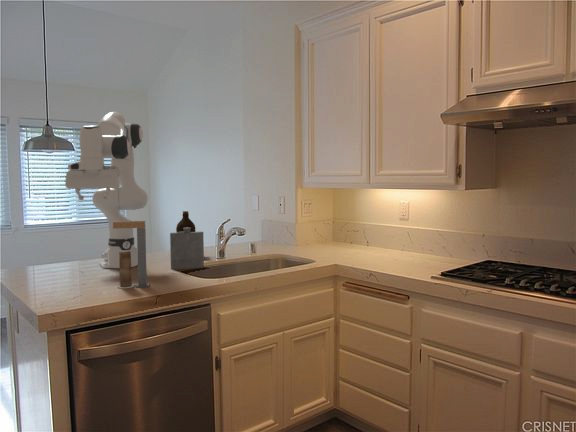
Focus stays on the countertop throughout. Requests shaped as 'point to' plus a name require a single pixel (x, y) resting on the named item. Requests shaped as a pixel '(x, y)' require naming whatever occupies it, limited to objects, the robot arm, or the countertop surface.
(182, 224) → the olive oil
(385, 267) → the countertop surface
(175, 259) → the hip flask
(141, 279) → the keeper
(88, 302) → the countertop surface
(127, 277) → the brown tall wooden block
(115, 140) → the robot arm
